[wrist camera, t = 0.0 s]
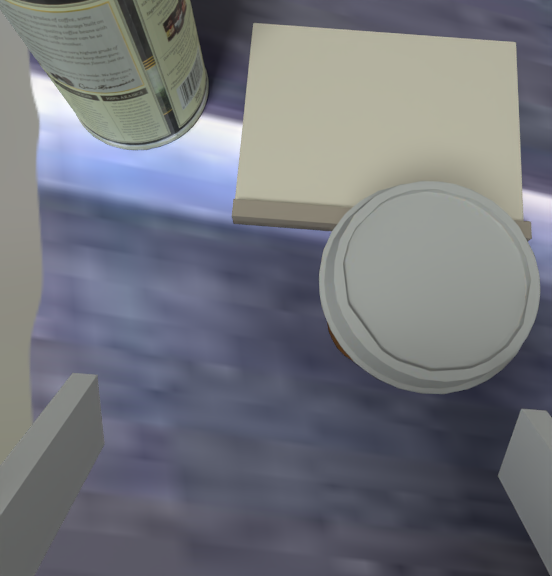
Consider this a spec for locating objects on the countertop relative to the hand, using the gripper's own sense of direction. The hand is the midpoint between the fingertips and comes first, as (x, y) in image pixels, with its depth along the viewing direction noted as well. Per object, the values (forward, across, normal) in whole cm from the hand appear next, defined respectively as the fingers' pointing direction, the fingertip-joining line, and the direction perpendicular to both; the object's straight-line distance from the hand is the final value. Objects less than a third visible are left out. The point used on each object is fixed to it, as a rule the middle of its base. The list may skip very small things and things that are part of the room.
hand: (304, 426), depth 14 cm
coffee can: (+26, +13, -9) cm, 30 cm away
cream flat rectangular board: (+24, -5, -7) cm, 26 cm away
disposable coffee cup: (+16, -5, +4) cm, 17 cm away
